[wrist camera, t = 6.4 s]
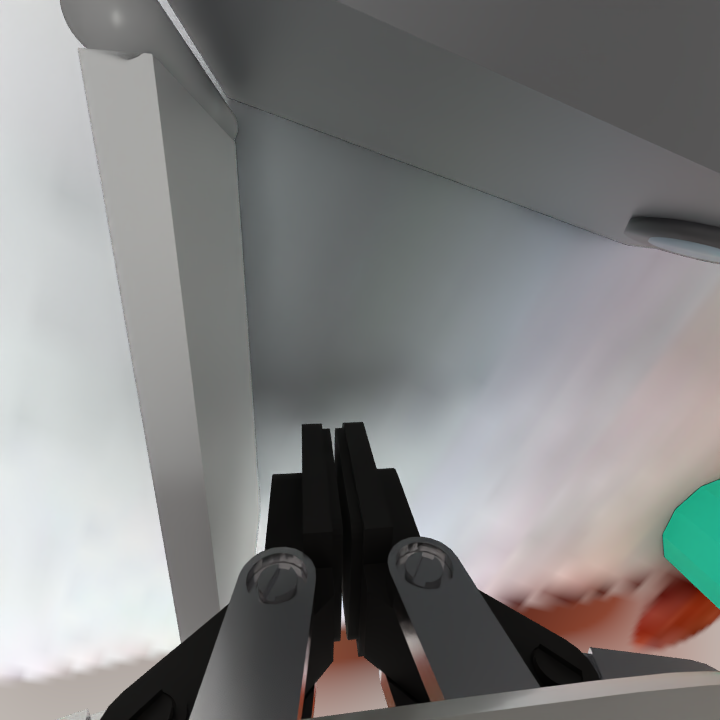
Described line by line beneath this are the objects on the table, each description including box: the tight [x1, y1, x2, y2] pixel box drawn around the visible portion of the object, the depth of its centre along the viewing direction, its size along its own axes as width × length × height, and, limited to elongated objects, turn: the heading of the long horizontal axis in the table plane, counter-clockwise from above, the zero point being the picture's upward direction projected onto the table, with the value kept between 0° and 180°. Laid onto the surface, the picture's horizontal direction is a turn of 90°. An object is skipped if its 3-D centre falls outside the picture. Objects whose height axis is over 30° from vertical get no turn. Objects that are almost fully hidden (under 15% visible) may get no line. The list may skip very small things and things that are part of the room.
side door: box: [60, 0, 260, 643], centre depth 10 cm, size 14×2×7 cm, turn 179°
